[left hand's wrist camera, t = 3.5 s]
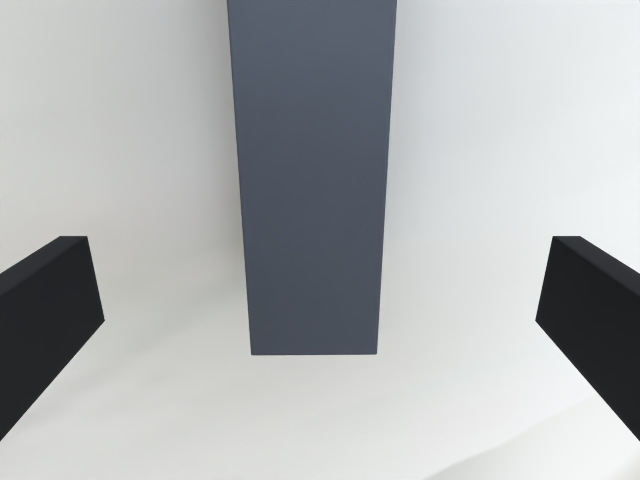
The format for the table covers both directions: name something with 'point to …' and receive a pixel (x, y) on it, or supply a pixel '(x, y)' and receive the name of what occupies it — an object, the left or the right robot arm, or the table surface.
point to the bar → (312, 168)
